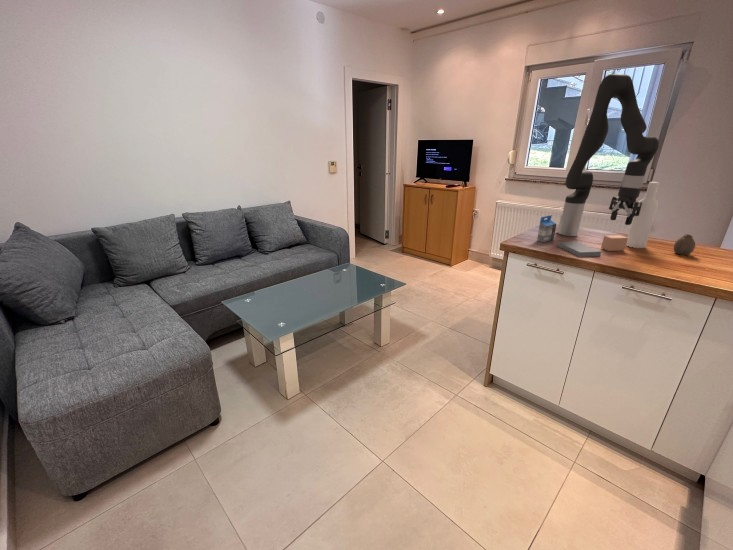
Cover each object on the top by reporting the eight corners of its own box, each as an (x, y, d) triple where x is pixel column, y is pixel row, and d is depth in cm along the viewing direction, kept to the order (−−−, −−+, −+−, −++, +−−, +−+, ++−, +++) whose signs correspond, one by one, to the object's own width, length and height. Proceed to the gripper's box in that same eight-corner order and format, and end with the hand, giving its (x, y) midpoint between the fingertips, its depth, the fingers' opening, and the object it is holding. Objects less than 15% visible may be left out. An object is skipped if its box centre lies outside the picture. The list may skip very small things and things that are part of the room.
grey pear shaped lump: (675, 255, 148) (682, 236, 145) (668, 250, 154) (675, 232, 151) (695, 257, 146) (702, 237, 142) (687, 252, 152) (694, 233, 148)
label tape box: (543, 242, 168) (548, 218, 163) (536, 240, 171) (540, 217, 166) (553, 240, 172) (558, 216, 167) (546, 238, 175) (551, 215, 170)
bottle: (623, 243, 166) (641, 180, 155) (642, 244, 163) (662, 181, 152) (626, 247, 159) (646, 182, 148) (647, 249, 156) (668, 183, 145)
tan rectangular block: (601, 247, 158) (604, 235, 156) (616, 247, 159) (620, 235, 156) (608, 250, 154) (611, 238, 152) (624, 250, 154) (628, 237, 152)
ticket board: (556, 245, 162) (557, 241, 161) (576, 245, 163) (577, 241, 162) (578, 256, 147) (580, 252, 146) (600, 255, 148) (601, 251, 147)
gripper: (610, 183, 151) (600, 218, 158) (636, 188, 138) (624, 226, 145) (626, 183, 152) (615, 218, 158) (653, 188, 139) (640, 226, 145)
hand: (620, 222), depth 152 cm, fingers open, 8 cm apart
